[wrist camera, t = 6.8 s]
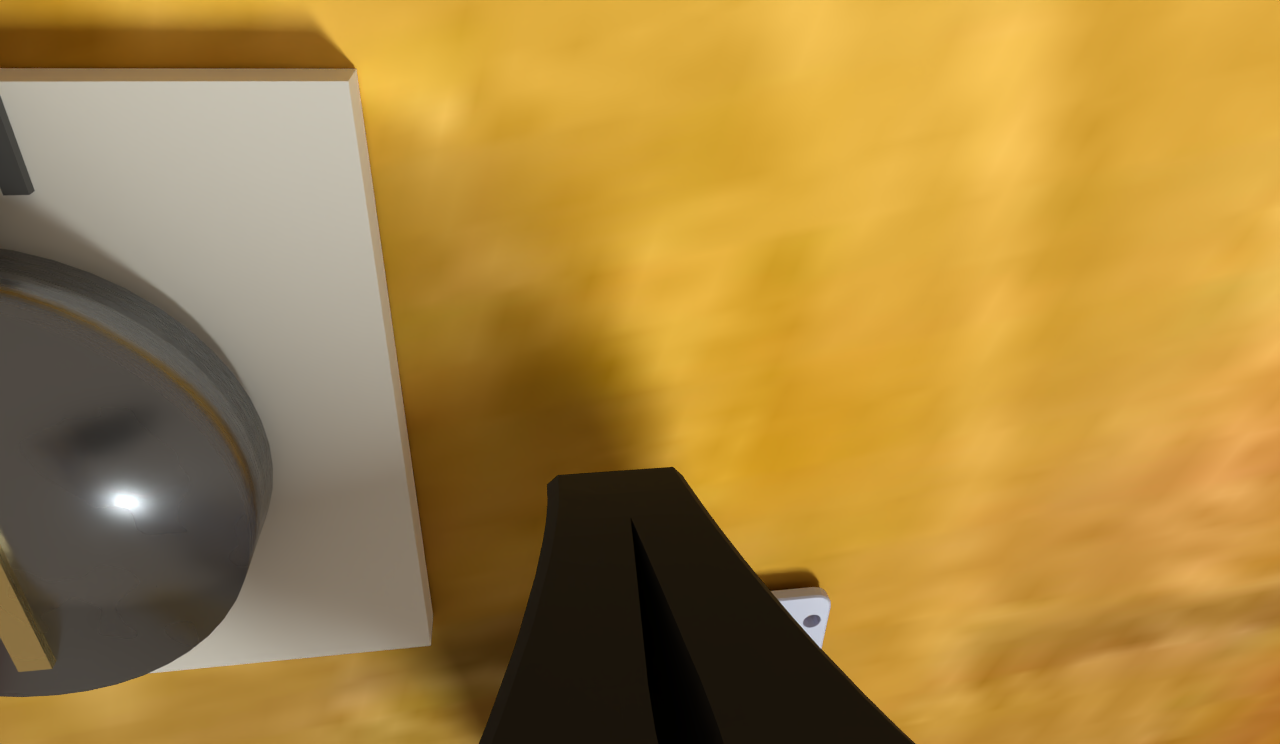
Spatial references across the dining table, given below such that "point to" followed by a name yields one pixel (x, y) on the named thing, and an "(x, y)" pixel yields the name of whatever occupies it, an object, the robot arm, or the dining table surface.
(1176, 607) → the dining table surface
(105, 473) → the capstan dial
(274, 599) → the white square board
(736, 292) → the dining table surface
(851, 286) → the dining table surface
